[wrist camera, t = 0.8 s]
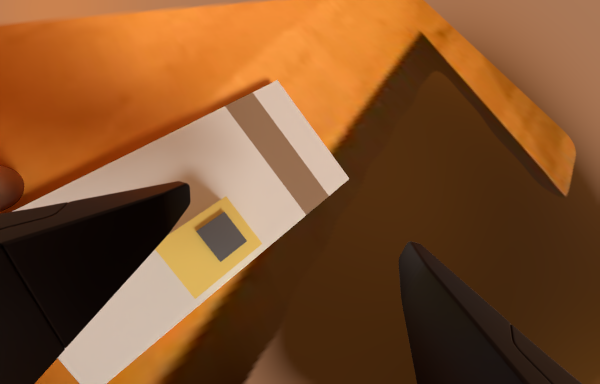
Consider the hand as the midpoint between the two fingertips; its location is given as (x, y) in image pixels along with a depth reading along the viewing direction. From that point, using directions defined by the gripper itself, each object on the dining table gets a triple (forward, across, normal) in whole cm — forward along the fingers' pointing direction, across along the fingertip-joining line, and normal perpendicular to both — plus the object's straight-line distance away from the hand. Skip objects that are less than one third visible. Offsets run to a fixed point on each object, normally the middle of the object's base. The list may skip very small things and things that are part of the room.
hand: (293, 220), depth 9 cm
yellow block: (+5, +6, +8) cm, 11 cm away
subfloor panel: (+7, +8, +6) cm, 12 cm away
